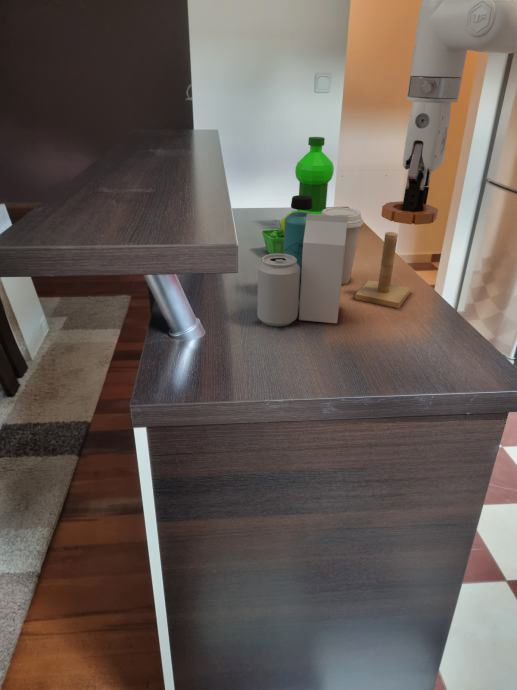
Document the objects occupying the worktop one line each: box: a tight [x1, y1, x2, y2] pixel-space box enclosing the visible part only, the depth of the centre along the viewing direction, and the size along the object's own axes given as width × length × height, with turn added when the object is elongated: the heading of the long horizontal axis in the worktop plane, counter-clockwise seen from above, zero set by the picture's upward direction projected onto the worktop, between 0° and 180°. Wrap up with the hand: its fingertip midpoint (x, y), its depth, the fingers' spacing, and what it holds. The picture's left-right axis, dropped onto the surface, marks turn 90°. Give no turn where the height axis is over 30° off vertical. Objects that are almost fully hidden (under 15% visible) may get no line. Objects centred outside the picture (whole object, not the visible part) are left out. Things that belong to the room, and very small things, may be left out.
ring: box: [380, 200, 439, 226], centre depth 84 cm, size 8×8×2 cm
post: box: [354, 231, 411, 309], centre depth 103 cm, size 9×9×13 cm
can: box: [256, 253, 300, 327], centre depth 93 cm, size 8×8×12 cm
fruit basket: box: [261, 210, 298, 254], centre depth 127 cm, size 11×9×11 cm
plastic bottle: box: [294, 136, 335, 215], centre depth 142 cm, size 10×10×25 cm
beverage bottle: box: [282, 194, 313, 294], centre depth 102 cm, size 6×7×20 cm
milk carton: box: [298, 214, 348, 324], centre depth 93 cm, size 7×7×19 cm
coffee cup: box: [321, 206, 364, 285], centre depth 111 cm, size 10×10×15 cm
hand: (413, 211), depth 87 cm, fingers closed on ring, 2 cm apart
